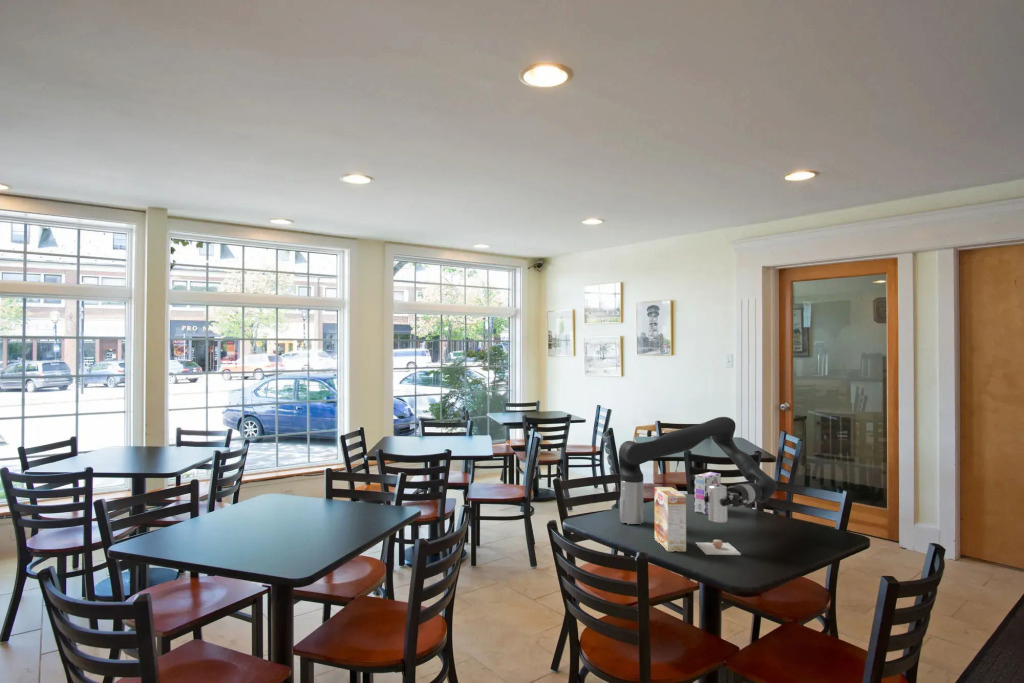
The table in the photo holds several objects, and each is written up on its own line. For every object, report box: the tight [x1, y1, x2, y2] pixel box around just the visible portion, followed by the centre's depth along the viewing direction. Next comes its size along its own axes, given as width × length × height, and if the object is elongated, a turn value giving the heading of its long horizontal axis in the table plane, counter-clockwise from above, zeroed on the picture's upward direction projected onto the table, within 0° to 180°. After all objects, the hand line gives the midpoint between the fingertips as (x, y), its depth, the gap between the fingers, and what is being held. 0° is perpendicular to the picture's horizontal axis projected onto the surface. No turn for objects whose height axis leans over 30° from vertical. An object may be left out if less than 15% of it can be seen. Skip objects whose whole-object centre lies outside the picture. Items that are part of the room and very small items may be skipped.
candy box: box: [693, 471, 722, 515], centre depth 264 cm, size 14×6×16 cm, turn 132°
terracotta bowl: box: [712, 538, 723, 549], centre depth 209 cm, size 3×3×3 cm
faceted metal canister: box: [707, 484, 728, 523], centre depth 209 cm, size 6×6×13 cm
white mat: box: [695, 541, 742, 556], centre depth 209 cm, size 12×12×1 cm
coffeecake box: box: [653, 486, 687, 553], centre depth 213 cm, size 15×7×20 cm, turn 4°
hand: (713, 501), depth 208 cm, fingers closed on faceted metal canister, 6 cm apart
